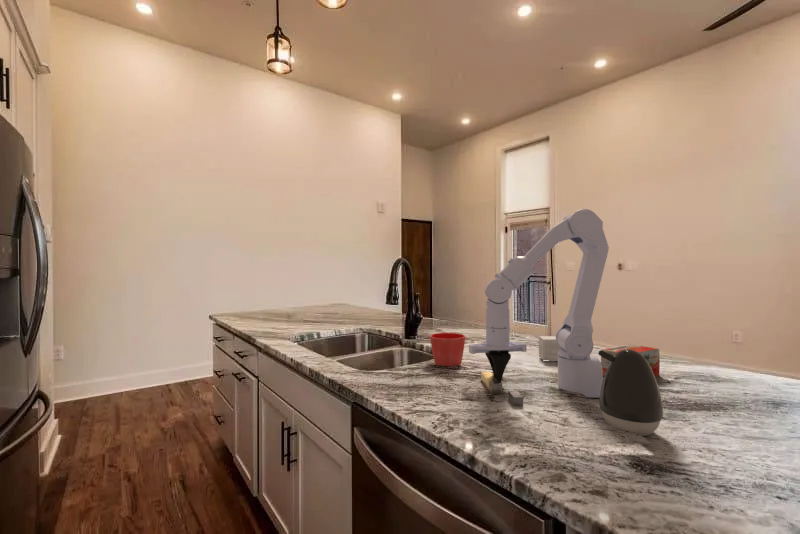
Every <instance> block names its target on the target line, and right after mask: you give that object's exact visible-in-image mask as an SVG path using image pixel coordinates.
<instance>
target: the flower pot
mask: <svg viewBox="0 0 800 534" xmlns="http://www.w3.org/2000/svg"><path fill="white" fill-rule="evenodd" d="M429 339H430V345H431V346H430V347H431V350H432V351H431V352H432V357H433V361H434V365H435V366H444V367H454V366H455V367H456V366H461V365H462V361H463V357H464V356H463V355H464V349H465V345H466V335H465V334H464V333H457V332H437V333H433V334H431V335H430V336H429Z"/></svg>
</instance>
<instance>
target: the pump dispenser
mask: <svg viewBox="0 0 800 534" xmlns="http://www.w3.org/2000/svg"><path fill="white" fill-rule="evenodd" d="M598 356H600V357H601V356H602V357H603V358H605V359H607V360H608V361H610V364H609V366H608V368H607V370H606V373H605V375H604V377H603V382H602V386H601V392H600V398H598V399H599V401H598V405H599V409H600V411H601V415H602V417H603V419H604V421H605V422H606V423H607V424H608V425H610V426H611V427H613V428H616V429H619V430H623V431H626V432H629V433H636V434H638V435H639V436H641V437H646V436H649V435H651V434H654V433H655V431H657V429H658V428H659V426H660V423H661V421H662V420H663V418H664V409H663V402H662V396H661V392H660V388H659V384H658V381H657V379H656V377H655V376H654V374H653V371H652V369H651V367H650V365H649V363H648V362H647V360H646V359H645V357H644V356H643V355H642V354H640V353H639V352H637V351H635V350H630V349H626V350H622V351H619V352H618V353H617V354H616V355H615V356H614V355H612V354H609V353H607V352H605V351H602V350H601V349H600V350H599V351H598Z"/></svg>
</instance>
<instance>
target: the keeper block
mask: <svg viewBox="0 0 800 534" xmlns="http://www.w3.org/2000/svg"><path fill="white" fill-rule="evenodd" d="M507 394H508V398H507V399H508V401H509V402H510V403H511V405H512V406H513V407H524V396H523V395H522V394H521V393H520V392H519V391H518V390H508V393H507Z"/></svg>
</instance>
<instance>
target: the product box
mask: <svg viewBox="0 0 800 534" xmlns="http://www.w3.org/2000/svg"><path fill="white" fill-rule="evenodd" d="M559 350H560V347H559V345H558V344H557V342H556V335H555V336H554V335H551V336H550V335H546V336H545V335H539V336H538V358H539V357H541V359H543V360H549V361H558V352H559ZM541 359H540V360H541Z"/></svg>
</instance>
